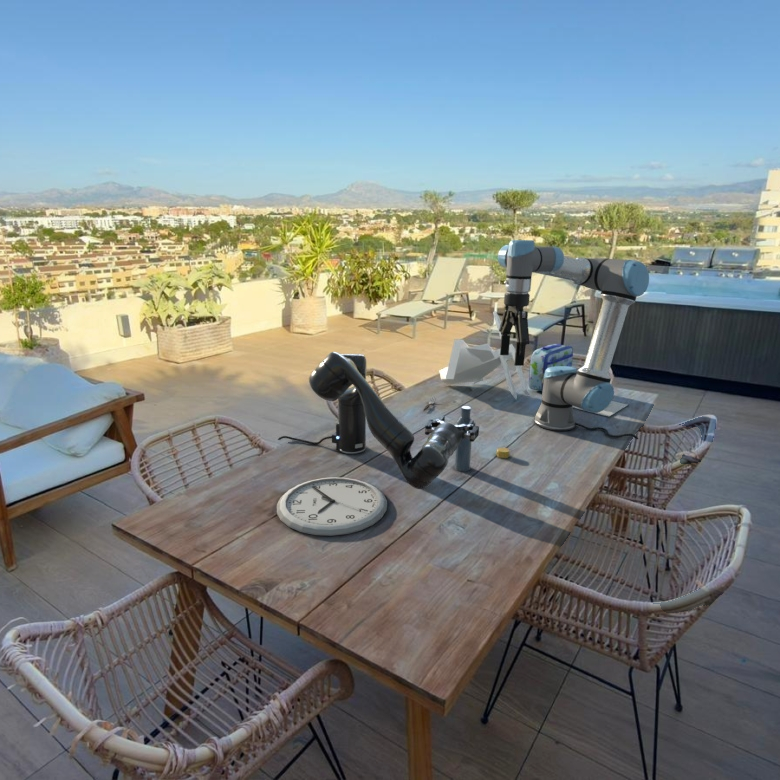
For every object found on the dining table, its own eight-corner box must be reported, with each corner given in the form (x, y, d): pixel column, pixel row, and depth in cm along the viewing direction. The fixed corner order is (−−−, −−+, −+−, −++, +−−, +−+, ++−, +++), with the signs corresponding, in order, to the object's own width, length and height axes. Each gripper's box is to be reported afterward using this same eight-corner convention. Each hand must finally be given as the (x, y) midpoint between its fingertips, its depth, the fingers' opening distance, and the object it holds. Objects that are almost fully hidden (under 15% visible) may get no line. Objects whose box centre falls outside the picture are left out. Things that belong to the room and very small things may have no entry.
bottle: (471, 470, 164) (476, 409, 158) (457, 472, 164) (461, 410, 157) (466, 464, 169) (470, 404, 163) (452, 465, 168) (456, 405, 162)
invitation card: (608, 416, 214) (573, 407, 224) (608, 416, 214) (573, 408, 224) (628, 404, 229) (594, 396, 238) (628, 405, 229) (594, 397, 238)
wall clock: (392, 527, 129) (268, 531, 127) (391, 533, 130) (269, 537, 127) (383, 473, 158) (282, 475, 155) (383, 478, 158) (282, 480, 156)
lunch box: (545, 396, 239) (550, 351, 232) (524, 391, 246) (528, 347, 240) (572, 385, 256) (577, 343, 250) (552, 380, 263) (557, 339, 257)
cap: (505, 452, 178) (506, 446, 177) (510, 457, 174) (511, 451, 174) (494, 453, 177) (495, 447, 177) (499, 458, 174) (499, 452, 173)
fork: (420, 411, 216) (420, 406, 216) (430, 400, 230) (431, 395, 230) (426, 412, 215) (426, 407, 215) (436, 401, 230) (436, 396, 229)
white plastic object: (461, 429, 252) (437, 405, 227) (444, 352, 274) (420, 323, 250) (535, 404, 240) (518, 377, 215) (510, 326, 262) (492, 293, 237)
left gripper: (471, 432, 132) (483, 412, 147) (417, 424, 137) (434, 405, 152) (469, 459, 135) (481, 437, 149) (416, 450, 139) (433, 429, 154)
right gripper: (492, 287, 171) (487, 351, 177) (520, 297, 147) (513, 370, 154) (514, 287, 172) (509, 350, 178) (545, 297, 148) (538, 370, 155)
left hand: (457, 421), depth 150 cm, fingers open, 8 cm apart
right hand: (511, 360), depth 166 cm, fingers open, 13 cm apart
